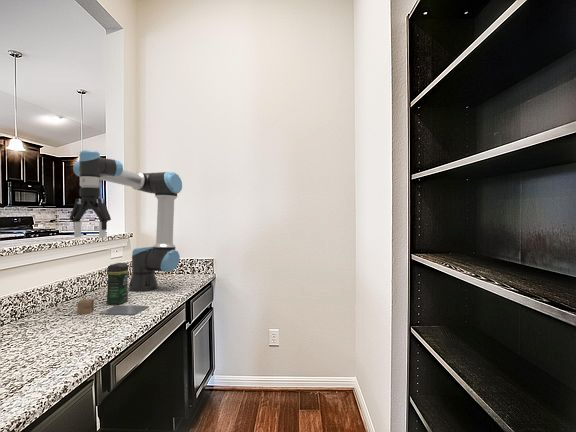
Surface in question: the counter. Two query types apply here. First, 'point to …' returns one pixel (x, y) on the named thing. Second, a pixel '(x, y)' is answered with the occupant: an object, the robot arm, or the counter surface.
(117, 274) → the coffee jar
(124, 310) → the plate
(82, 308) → the walnut block
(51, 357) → the counter surface
